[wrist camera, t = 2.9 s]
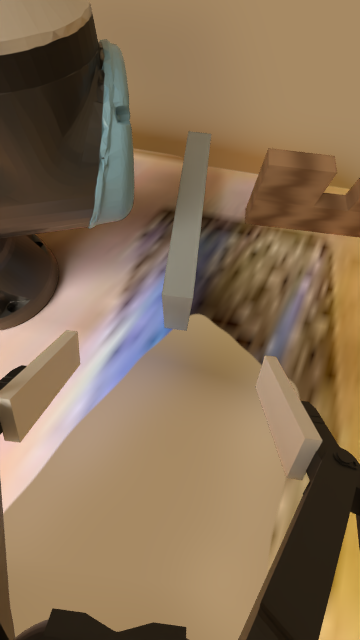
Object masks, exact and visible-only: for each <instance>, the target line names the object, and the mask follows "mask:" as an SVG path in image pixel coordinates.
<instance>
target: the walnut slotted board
mask: <svg viewBox="0 0 360 640" xmlns="http://www.w3.org/2000/svg"><path fill="white" fill-rule="evenodd" d="M336 174H337V168H336V162H335V156H330V155H321V154H313V153H304V152H296V151H287V150H279V149H270V148H269V149H268V151H267V154H266V156H265V159H264V162H263V165H262V167H261V170H260V172H259V175H258V178H257V180H256V183H255V186H254V188H253V191H252V194H251V196H250V199H249V202H248V204H247V207H246V214H245V223H246V224H254V225H262V226H271V227H279V228H287V229H296V230H304V231H312V232H321V233H329V234H337V235H346V236H354V237H360V178H359V179H358V180H357V182H356V183H355V184H354V185H353V187H352V188H351V189H350V190H349V191H348V193H347V194H346V195H338V194H329V193H323V192H324V191H325V189H326V188H327V187H328V185H329V184H330V182H331V181H332V179H333V178H334V177H335V175H336Z"/></svg>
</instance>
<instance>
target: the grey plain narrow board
mask: <svg viewBox="0 0 360 640" xmlns="http://www.w3.org/2000/svg"><path fill="white" fill-rule="evenodd" d="M210 141H211V134H207V133H199V132H190V131H189V132H188V138H187V144H186V150H185V156H184V162H183V168H182V174H181V180H180V187H179V193H178V199H177V205H176V211H175V217H174V223H173V229H172V236H171V242H170V248H169V254H168V260H167V266H166V272H165V278H164V285H163V291H162V303H163V315H164V327H165V328H170V329H179V330H187V326H188V321H189V316H190V311H191V306H192V301H193V294H194V285H195V276H196V267H197V258H198V249H199V240H200V231H201V222H202V213H203V204H204V195H205V186H206V177H207V168H208V159H209V149H210Z"/></svg>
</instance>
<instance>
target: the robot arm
mask: <svg viewBox="0 0 360 640" xmlns="http://www.w3.org/2000/svg"><path fill="white" fill-rule="evenodd" d="M129 119H130V112H129V94H128V84H127V77H126V70H125V64H124V60H123V56H122V53H121V50H120V48H119V47H118V46H117V45H116V44H112V43H110V42H109V41H108V40H107V39H104V40H100V42H99V43H98V39H97V34H96V29H95V24H94V19H93V15H92V8H91V4H90V1H89V0H0V330H4V329H8V328H11V327H14V326H17V325H19V324H21V323H23V322H25V321H27V320H28V319H30V318H31V317H33V316H34V315H36V314H37V313H38V312H39V311H40V310H41V309H42V308H43V307H44V306H45V305H46V304H47V303H48V301H49V300H50V298H51V297H52V295H53V293H54V291H55V289H56V286H57V282H58V276H59V270H58V264H57V261H56V259H55V257H54V255H53V253H52V252H51V251H50V249H49V248H48V247H47V245H46V244H45V243H44V242H43V241H42V240H41V239H40V238H39V237H38V236H36V235H35V234H38V233H46V232H54V231H61V230H69V229H77V228H85V227H88V228H92V227H95V226H96V225H99V224H104V223H109V222H115V221H120V220H122V219H124V218H125V217H126V216H127V215H128V214H129V213H130V211H131V209H132V207H133V202H134V157H133V141H132V129H131V124H130V121H129ZM79 365H80V356H79V343H78V332H77V331H69V330H66V331H65V332H64V333H63V334H62V335H61V336H60V337H59V338H58V339H57V340H55V341H54V342H53V343H52V344H51V345H50V346H49V347H48V348H47V349H46V350H44V351H43V352H42V353H41V354H40V355H39V356H38V357H37V358H36V359H35V360H33V361H32V362H31V363H30V364H29V365H28V366H23V365H21V366H19V367H17V368H15V369H13V370H12V371H10V372H9V373H8V374H7V375H6V376H5V377H3V378H2V379H1V380H0V434H1V433H2V432H3V436H4V439H5V441H12V442H21V441H22V440H23V438H24V437H25V436H26V434H27V433H28V432H29V430H30V429H31V428H32V426H33V425H34V424H35V423H36V421H37V420H38V419H39V417H40V416H41V415H42V413H43V412H44V411H45V410H46V408H47V407H48V406H49V404H50V403H51V402H52V400H53V399H54V398H55V396H56V395H57V394H58V393H59V391H60V390H61V389H62V387H63V386H64V385H65V383H66V382H67V381H68V379H69V378H70V377H71V376H72V374H73V373H74V372H75V370H76V369H77V368H78V366H79ZM255 387H256V390H257V393H258V396H259V399H260V402H261V404H262V408H263V411H264V414H265V417H266V419H267V422H268V425H269V428H270V431H271V434H272V437H273V440H274V443H275V446H276V449H277V452H278V455H279V458H280V461H281V463H282V466H283V469H284V472H285V475H286V478H291V479H298V480H302V479H303V477H304V476H305V474H306V472H307V475H308V477H309V479H310V482H309V483H308V485H307V487H306V489H305V491H304V493H303V497H302V499H301V501H300V503H299V506H298V508H297V510H296V512H295V514H294V517H293V519H292V521H291V523H290V526H289V528H288V530H287V532H286V534H285V537H284V539H283V541H282V543H281V546H280V548H279V550H278V552H277V555H276V557H275V559H274V561H273V563H272V566H271V568H270V570H269V572H268V575H267V577H266V579H265V581H264V583H263V586H262V588H261V590H260V592H259V595H258V597H257V599H256V601H255V604H254V606H253V608H252V610H251V612H250V615H249V617H248V619H247V621H246V624H245V626H244V628H243V630H242V632H241V635H240V637H239V639H238V640H318V639H319V635H320V631H321V627H322V623H323V619H324V615H325V611H326V607H327V603H328V599H329V595H330V591H331V587H332V583H333V579H334V575H335V571H336V567H337V563H338V558H339V554H340V550H341V546H342V542H343V538H344V534H345V530H346V526H347V522H348V518H349V514H350V512H352V513H354V514H356V520H357V529H358V539H359V548H360V464H359V463H358V461H357V460H356V458H355V457H354V456H353V455H352V454H350V453H349V452H348V451H346V450H344V449H342V448H340V447H339V446H338V444H337V442H336V441H335V439H334V437H333V436H332V434H331V432H330V431H329V429H328V428H327V426H326V425H325V423H324V421H323V419H322V418H321V416H320V415H319V413H318V411H317V410H316V408H314V407H313V406H312V405H311V404H310V403H309V402H305V401H300V399H299V397H298V396H297V394H296V392H295V390H294V388H293V387H292V385H291V383H290V381H289V379H288V378H287V376H286V374H285V372H284V370H283V369H282V367H281V365H280V363H279V361H278V360H277V358H276V357H273V356H265V357H264V360H263V364H262V367H261V370H260V374H259V377H258V380H257V383H256V386H255ZM0 640H189V639H187V638H186V627H182V626H174V625H167V624H160V623H150V624H146V625H143V626H139V627H136V628H132V629H128V630H124V631H121V632H115V631H113V630H111V629H110V628H108V627H107V626H105V625H104V624H102V623H100V622H99V621H97V620H95V619H94V618H92V617H91V616H89V615H88V614H86V613H82V612H74V611H67V610H60V609H52V612H51V614H50V618H49V620H45V621H42V622H40V623H38V624H35V625H33V626H32V627H30V628H29V629H27V630H25V631H24V632H22V633H21V634H20V635H18V636H17V637H15V634H14V626H13V619H12V615H11V610H10V601H9V590H8V575H7V563H6V548H5V536H4V522H3V508H2V495H1V481H0Z"/></svg>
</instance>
